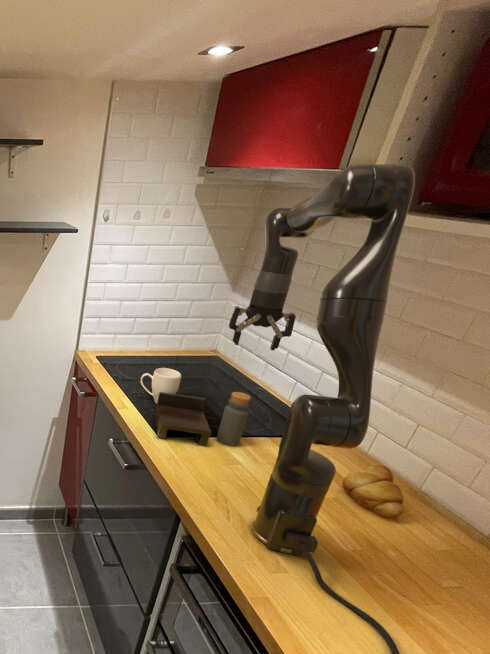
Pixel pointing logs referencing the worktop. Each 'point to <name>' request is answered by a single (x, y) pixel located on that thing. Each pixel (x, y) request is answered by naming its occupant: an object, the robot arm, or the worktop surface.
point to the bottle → (234, 419)
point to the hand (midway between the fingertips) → (253, 346)
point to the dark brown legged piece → (181, 416)
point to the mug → (163, 382)
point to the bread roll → (375, 490)
